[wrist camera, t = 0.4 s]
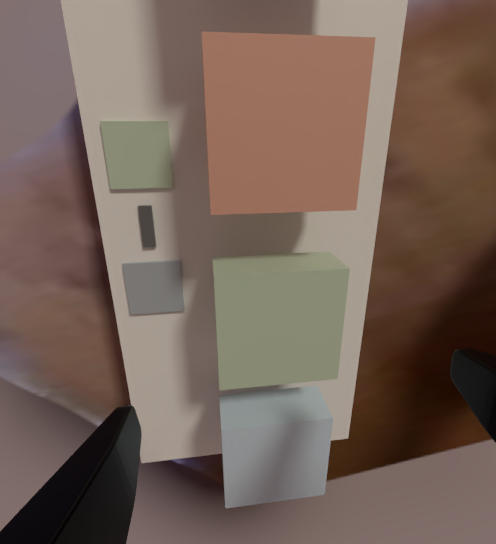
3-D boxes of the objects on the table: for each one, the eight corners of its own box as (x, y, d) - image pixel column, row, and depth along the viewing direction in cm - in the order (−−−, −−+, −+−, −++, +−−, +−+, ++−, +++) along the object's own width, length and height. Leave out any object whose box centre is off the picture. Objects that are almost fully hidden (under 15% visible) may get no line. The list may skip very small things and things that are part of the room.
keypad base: (391, -146, 14) (441, -223, 11) (332, 406, 25) (349, 440, 22) (54, -181, 13) (8, -282, 10) (148, 426, 24) (140, 466, 21)
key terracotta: (345, 56, 13) (375, 37, 10) (333, 201, 15) (356, 210, 12) (201, 53, 12) (201, 31, 10) (209, 204, 14) (210, 215, 12)
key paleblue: (317, 385, 18) (333, 418, 16) (311, 457, 20) (324, 494, 18) (219, 395, 18) (221, 430, 16) (222, 468, 20) (225, 508, 18)
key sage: (328, 251, 16) (349, 268, 13) (320, 349, 18) (337, 378, 15) (212, 257, 15) (213, 276, 13) (217, 358, 17) (219, 390, 15)
